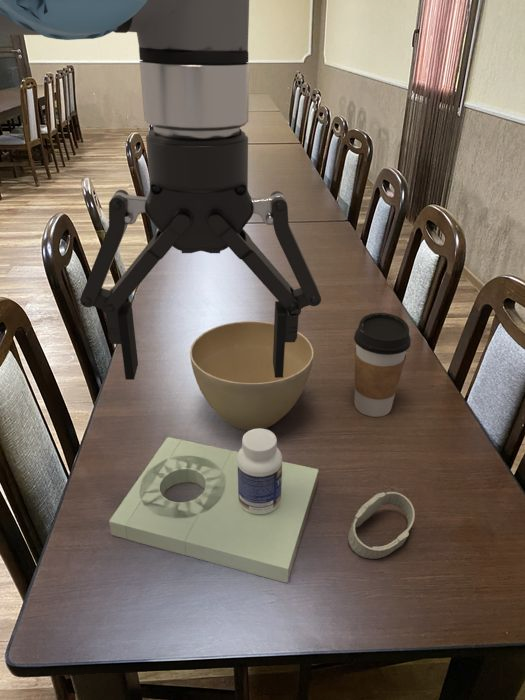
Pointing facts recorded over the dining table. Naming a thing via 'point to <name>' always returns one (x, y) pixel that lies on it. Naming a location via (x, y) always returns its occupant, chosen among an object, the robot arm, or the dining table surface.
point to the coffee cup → (379, 361)
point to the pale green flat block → (215, 511)
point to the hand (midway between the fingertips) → (205, 371)
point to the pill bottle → (259, 472)
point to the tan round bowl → (249, 373)
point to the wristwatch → (368, 510)
